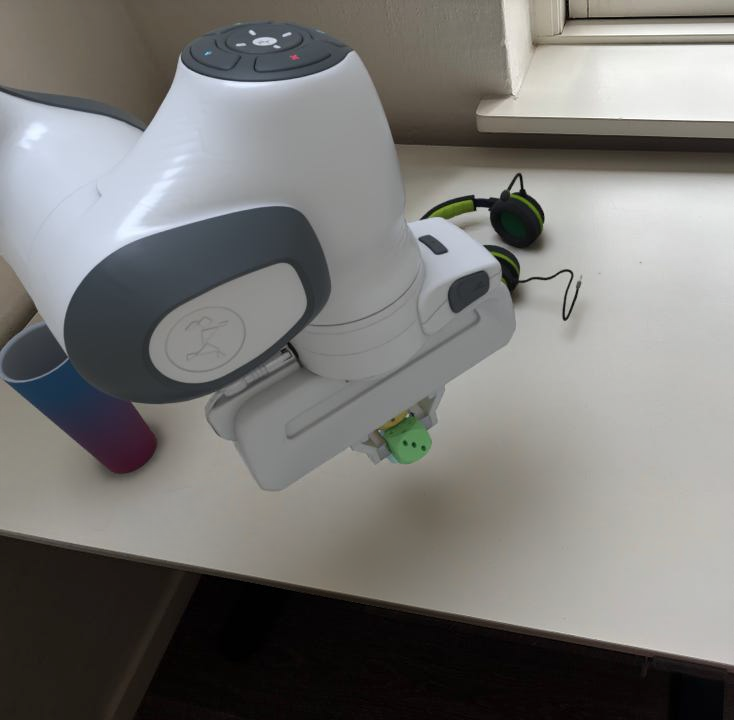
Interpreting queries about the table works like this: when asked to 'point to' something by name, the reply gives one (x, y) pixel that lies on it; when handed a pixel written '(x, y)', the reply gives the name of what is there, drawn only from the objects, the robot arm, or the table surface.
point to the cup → (75, 401)
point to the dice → (406, 439)
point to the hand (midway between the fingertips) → (401, 438)
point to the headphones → (507, 229)
